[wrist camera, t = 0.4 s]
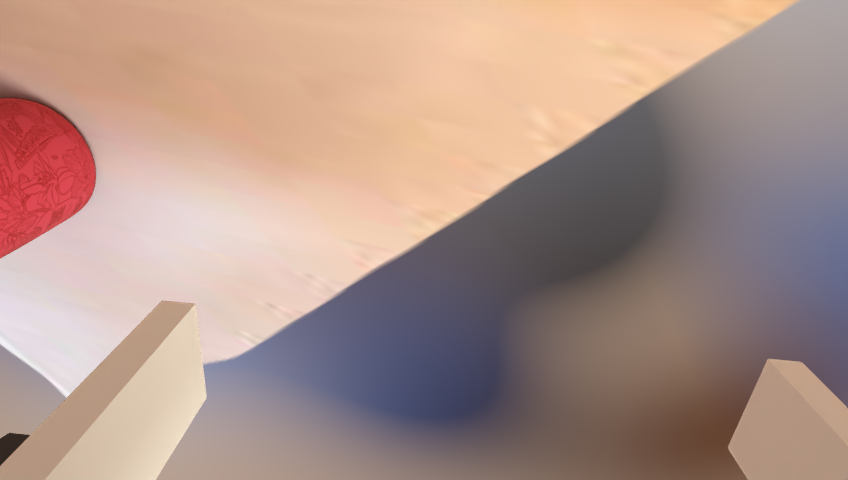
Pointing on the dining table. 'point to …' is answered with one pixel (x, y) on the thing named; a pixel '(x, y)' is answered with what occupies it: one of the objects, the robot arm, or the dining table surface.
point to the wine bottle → (39, 172)
